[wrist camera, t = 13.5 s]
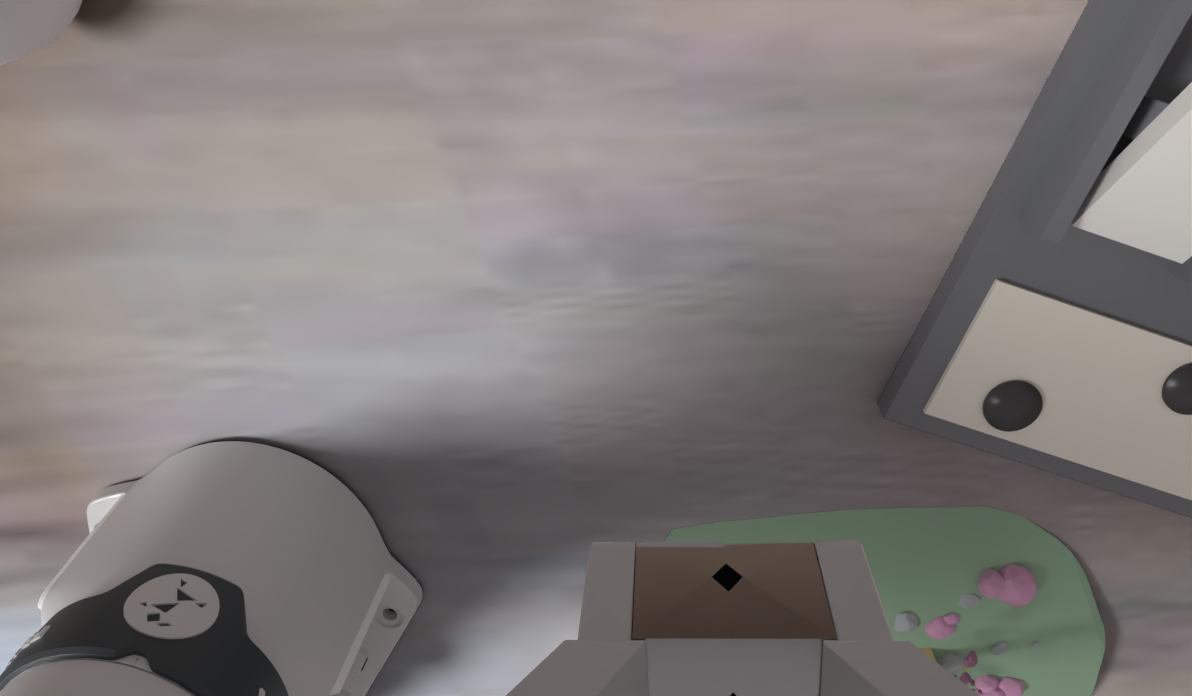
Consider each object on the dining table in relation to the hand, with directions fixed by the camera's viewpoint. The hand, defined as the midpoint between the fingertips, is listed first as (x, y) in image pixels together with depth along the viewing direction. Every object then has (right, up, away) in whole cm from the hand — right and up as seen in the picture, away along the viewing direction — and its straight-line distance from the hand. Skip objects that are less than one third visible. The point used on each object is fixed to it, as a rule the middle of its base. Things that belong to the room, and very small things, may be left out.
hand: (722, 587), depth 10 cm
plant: (+14, -13, +40) cm, 44 cm away
